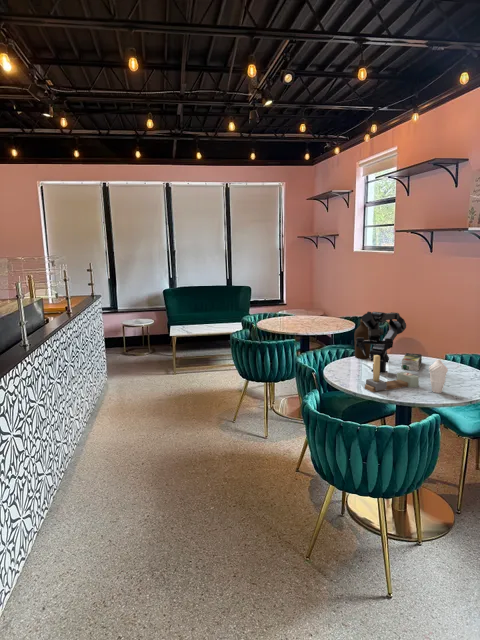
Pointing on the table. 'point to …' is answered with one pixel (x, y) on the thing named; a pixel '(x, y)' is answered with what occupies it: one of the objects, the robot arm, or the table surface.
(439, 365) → the soft serve ice cream cone
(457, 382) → the table surface
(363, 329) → the olive oil
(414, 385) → the gauge cabinet
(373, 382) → the grey block with handle
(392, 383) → the rail
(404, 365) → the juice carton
